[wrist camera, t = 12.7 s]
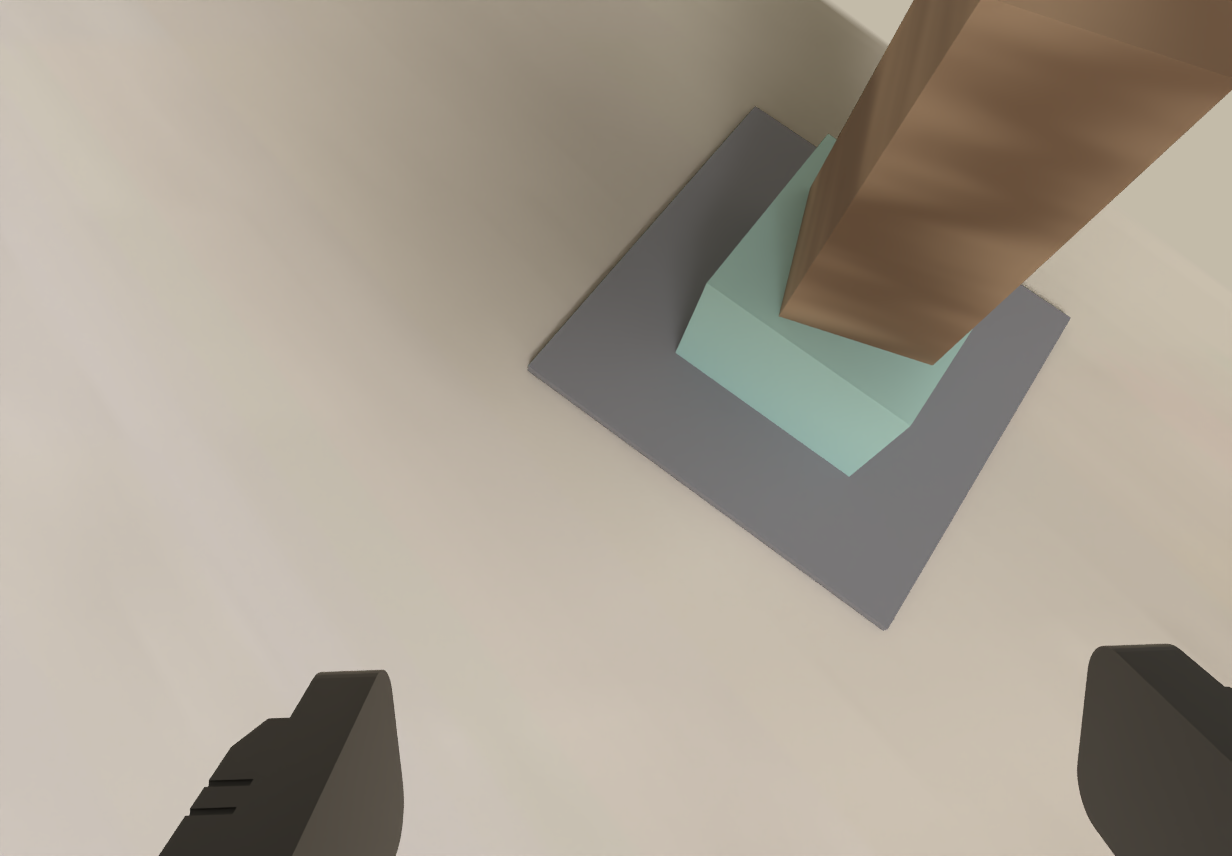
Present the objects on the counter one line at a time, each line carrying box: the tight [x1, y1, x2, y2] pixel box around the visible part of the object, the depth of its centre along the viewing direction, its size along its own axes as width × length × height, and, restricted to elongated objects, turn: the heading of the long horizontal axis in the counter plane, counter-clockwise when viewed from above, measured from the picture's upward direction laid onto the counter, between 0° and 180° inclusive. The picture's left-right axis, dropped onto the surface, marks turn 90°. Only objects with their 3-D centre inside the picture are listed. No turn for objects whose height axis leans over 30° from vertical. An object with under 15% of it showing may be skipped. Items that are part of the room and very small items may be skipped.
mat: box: [528, 106, 1070, 631], centre depth 27 cm, size 12×12×1 cm
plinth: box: [676, 134, 972, 476], centre depth 25 cm, size 6×6×4 cm
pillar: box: [779, 0, 1232, 366], centre depth 19 cm, size 4×4×10 cm
